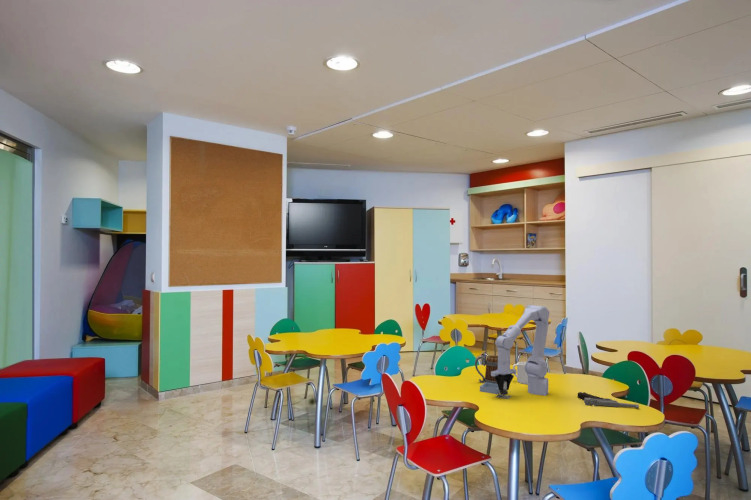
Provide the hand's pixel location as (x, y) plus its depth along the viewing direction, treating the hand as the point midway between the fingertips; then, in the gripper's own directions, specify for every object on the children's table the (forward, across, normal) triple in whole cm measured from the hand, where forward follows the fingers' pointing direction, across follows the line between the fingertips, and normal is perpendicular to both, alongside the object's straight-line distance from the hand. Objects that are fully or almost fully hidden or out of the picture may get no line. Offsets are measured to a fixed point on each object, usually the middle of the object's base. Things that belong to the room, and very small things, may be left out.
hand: (503, 390), depth 219 cm
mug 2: (+4, +34, +20) cm, 39 cm away
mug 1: (+4, +12, +23) cm, 26 cm away
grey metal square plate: (+4, 0, 0) cm, 4 cm away
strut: (+2, 0, 0) cm, 2 cm away
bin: (+4, +2, +10) cm, 11 cm away
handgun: (+5, +41, -25) cm, 48 cm away
